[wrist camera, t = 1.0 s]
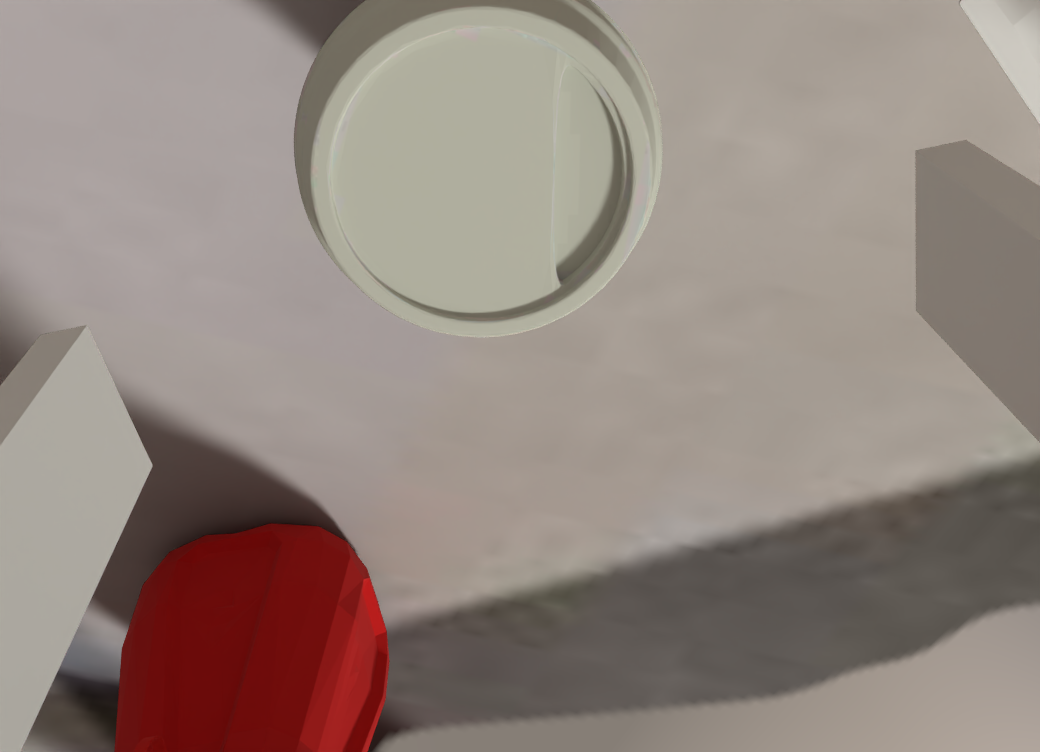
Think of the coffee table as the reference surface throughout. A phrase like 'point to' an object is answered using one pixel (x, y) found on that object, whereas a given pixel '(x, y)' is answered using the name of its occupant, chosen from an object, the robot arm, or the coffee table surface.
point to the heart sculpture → (1012, 41)
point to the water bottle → (254, 648)
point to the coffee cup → (478, 158)
